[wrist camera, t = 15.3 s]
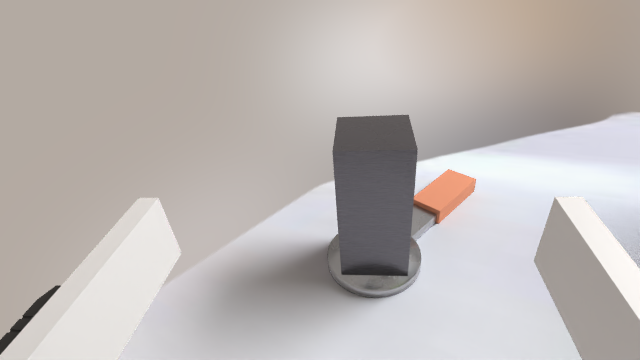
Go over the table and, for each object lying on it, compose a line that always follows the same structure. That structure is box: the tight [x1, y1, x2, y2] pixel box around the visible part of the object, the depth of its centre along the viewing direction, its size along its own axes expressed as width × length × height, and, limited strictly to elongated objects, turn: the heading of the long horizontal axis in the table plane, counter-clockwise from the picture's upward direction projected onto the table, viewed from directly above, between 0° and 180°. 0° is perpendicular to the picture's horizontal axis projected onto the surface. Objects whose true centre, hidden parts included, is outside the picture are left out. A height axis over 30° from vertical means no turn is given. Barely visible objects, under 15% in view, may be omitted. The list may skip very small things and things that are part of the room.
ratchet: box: [328, 169, 476, 298], centre depth 39 cm, size 22×9×4 cm, turn 134°
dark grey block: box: [333, 115, 417, 276], centre depth 32 cm, size 6×6×13 cm
